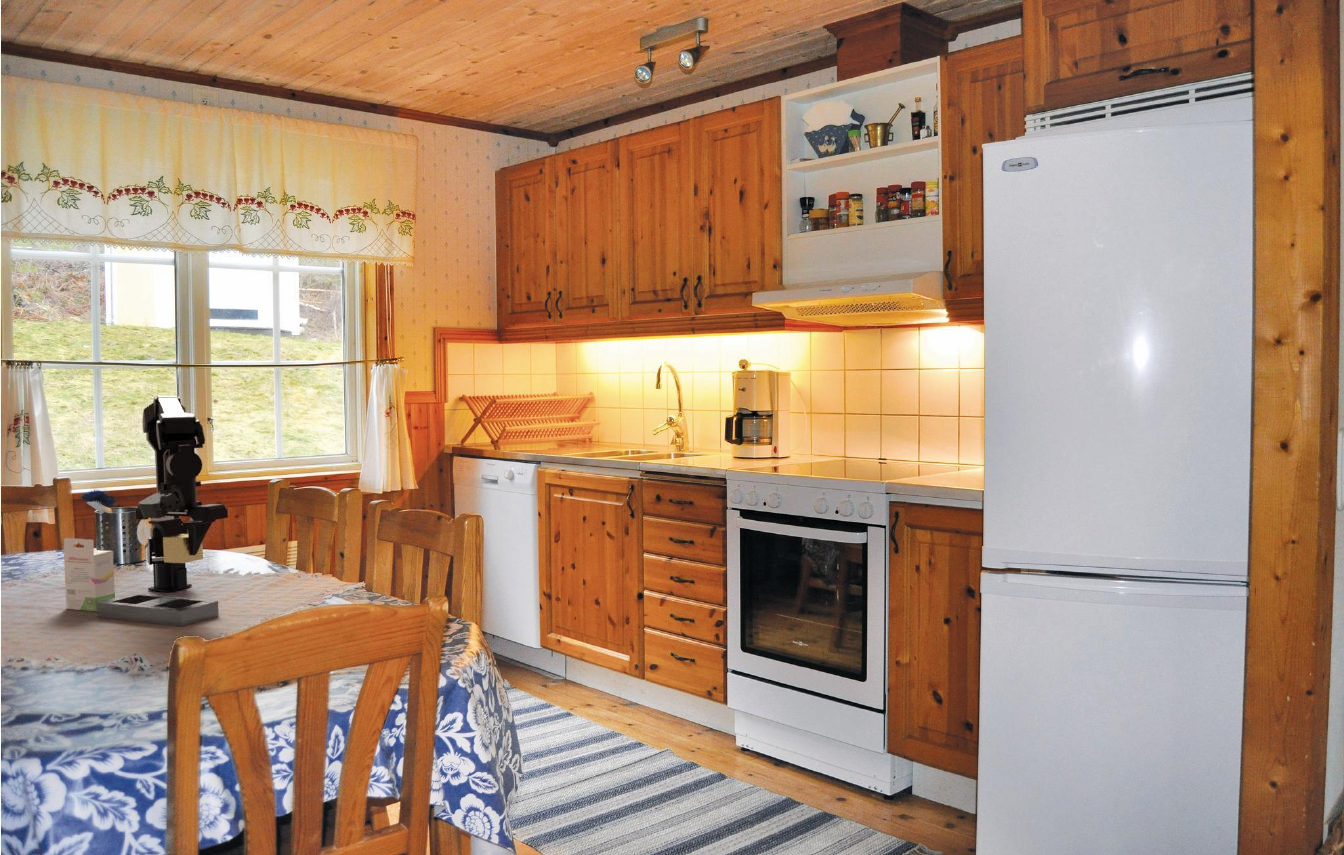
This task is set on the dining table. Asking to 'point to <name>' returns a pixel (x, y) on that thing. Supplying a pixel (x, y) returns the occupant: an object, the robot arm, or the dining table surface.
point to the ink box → (87, 575)
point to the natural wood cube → (179, 549)
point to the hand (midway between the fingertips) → (183, 554)
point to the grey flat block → (158, 609)
